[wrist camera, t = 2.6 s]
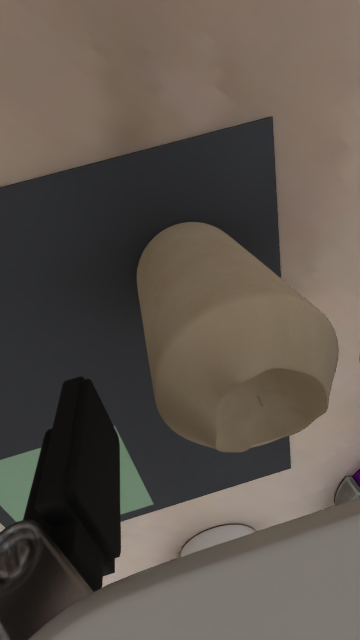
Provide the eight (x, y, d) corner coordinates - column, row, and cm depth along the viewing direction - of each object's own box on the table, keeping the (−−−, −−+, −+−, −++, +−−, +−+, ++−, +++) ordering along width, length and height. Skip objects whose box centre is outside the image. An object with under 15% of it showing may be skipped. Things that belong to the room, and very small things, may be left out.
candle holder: (151, 561, 31) (169, 770, 21) (223, 508, 28) (284, 715, 18) (215, 577, 35) (257, 755, 25) (282, 533, 33) (358, 710, 23)
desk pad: (-271, 258, 13) (-276, 260, 12) (270, 116, 14) (272, 116, 13) (29, 547, 26) (29, 550, 26) (289, 466, 27) (290, 468, 27)
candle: (164, 335, 18) (211, 513, 9) (115, 252, 15) (115, 399, 6) (252, 292, 17) (383, 436, 9) (218, 199, 15) (363, 279, 6)
